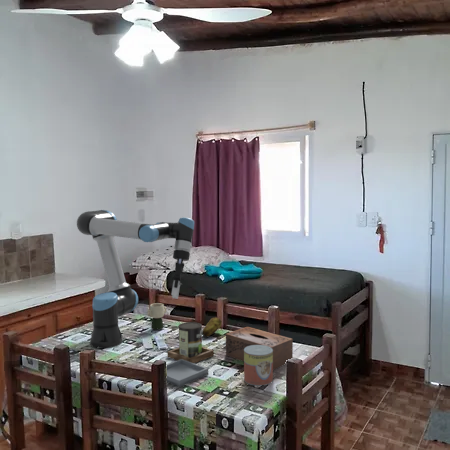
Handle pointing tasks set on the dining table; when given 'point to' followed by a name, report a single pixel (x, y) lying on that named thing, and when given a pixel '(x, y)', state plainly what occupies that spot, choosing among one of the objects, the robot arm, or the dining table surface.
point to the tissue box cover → (258, 337)
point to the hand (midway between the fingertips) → (174, 297)
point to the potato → (212, 326)
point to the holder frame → (205, 354)
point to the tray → (184, 372)
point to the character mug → (157, 315)
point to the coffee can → (190, 339)
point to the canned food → (258, 365)
